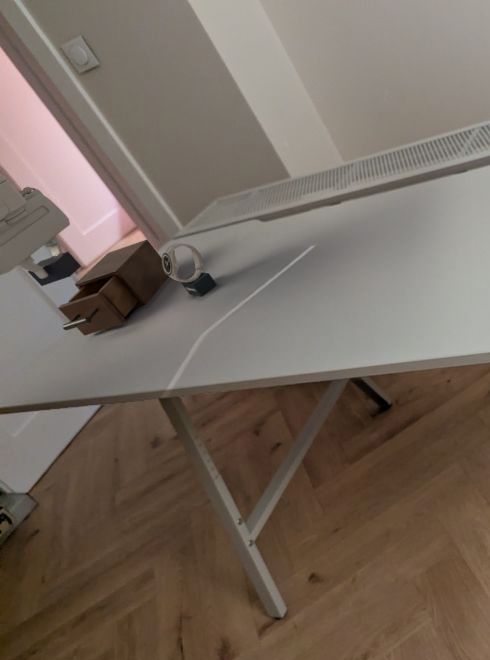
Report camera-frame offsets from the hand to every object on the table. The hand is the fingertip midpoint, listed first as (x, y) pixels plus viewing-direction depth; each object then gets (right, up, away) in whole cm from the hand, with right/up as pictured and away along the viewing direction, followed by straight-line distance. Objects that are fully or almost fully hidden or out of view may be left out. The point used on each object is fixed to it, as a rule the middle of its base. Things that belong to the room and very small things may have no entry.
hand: (54, 269), depth 105 cm
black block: (+1, -1, +1) cm, 2 cm away
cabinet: (+1, -2, +25) cm, 26 cm away
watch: (+22, -3, +14) cm, 27 cm away
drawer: (+1, -9, +16) cm, 18 cm away
